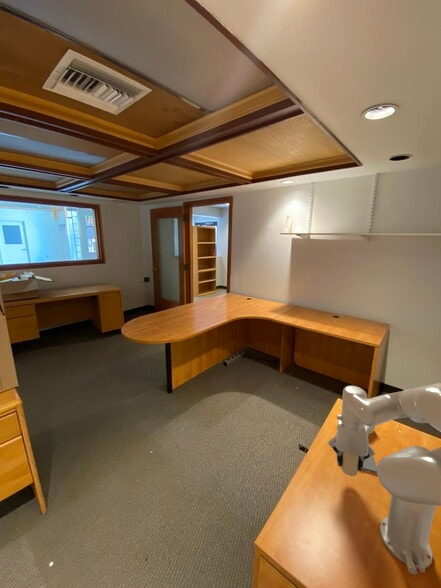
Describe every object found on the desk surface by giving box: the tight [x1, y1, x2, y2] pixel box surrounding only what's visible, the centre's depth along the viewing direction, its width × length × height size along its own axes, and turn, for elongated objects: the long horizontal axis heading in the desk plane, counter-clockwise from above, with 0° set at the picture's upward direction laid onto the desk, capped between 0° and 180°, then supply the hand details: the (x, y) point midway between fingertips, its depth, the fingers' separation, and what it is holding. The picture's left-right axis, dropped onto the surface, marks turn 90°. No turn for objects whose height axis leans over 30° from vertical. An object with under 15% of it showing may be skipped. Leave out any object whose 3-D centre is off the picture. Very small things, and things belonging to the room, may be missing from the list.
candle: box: [340, 452, 359, 477], centre depth 91 cm, size 6×6×10 cm
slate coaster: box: [335, 443, 377, 475], centre depth 105 cm, size 14×14×1 cm
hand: (349, 465), depth 92 cm, fingers closed on candle, 5 cm apart
